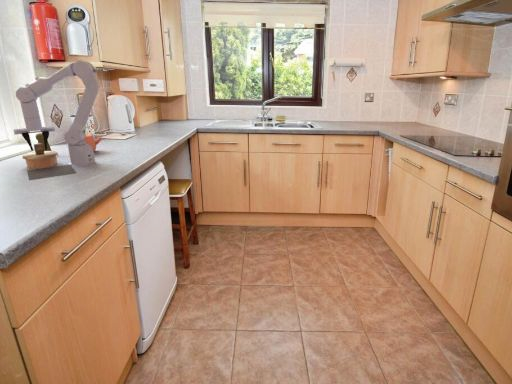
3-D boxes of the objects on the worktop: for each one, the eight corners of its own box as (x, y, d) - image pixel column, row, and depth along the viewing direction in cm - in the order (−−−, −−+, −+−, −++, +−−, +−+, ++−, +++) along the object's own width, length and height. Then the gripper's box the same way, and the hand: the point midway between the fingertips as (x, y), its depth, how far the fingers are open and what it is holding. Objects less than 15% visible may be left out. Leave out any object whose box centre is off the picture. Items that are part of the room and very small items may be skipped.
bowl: (63, 163, 147) (61, 153, 145) (42, 169, 137) (40, 159, 135) (43, 162, 150) (40, 152, 148) (21, 168, 139) (18, 157, 138)
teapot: (91, 148, 178) (88, 130, 174) (105, 151, 172) (102, 131, 169) (66, 153, 166) (62, 133, 163) (79, 156, 161) (76, 135, 157)
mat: (70, 165, 144) (70, 164, 144) (76, 174, 131) (76, 173, 131) (27, 171, 135) (26, 170, 135) (29, 181, 122) (29, 180, 122)
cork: (50, 153, 166) (45, 131, 163) (55, 155, 163) (50, 133, 159) (36, 155, 162) (31, 133, 158) (41, 157, 158) (36, 134, 155)
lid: (64, 154, 145) (62, 142, 143) (37, 160, 133) (34, 148, 132) (43, 151, 149) (41, 140, 147) (15, 158, 137) (12, 145, 136)
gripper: (51, 115, 143) (57, 146, 148) (10, 117, 135) (18, 150, 140) (52, 117, 138) (59, 148, 143) (10, 119, 130) (19, 152, 134)
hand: (39, 149), depth 141 cm, fingers open, 4 cm apart
